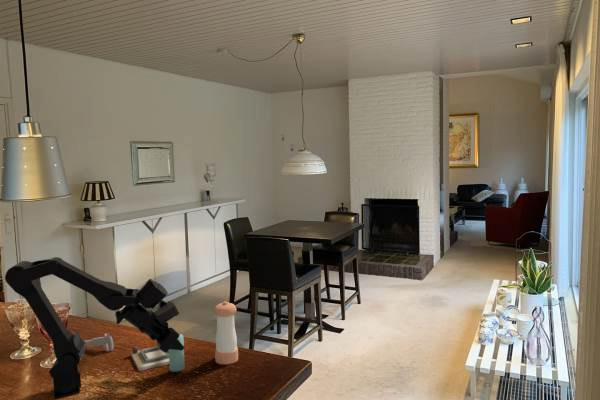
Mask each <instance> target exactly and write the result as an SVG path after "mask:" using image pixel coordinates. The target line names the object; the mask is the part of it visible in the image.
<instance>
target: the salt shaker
mask: <svg viewBox="0 0 600 400" xmlns="http://www.w3.org/2000/svg"><path fill="white" fill-rule="evenodd" d="M213 312H214V314H215V316H216V333H215V334H216V335H215V346H216V348H215V350H214V354H215V355H214V356H215V358H214V359H215V360H214V361H215V363H217V364H219V365H231V364H234V363H236V362H238V360H239V349H238V348H239V347H238V344H237V343H238V342H237V339H238V337H237V332H236V328H235V314H236V313H237V306H235V304H234V303H231V302H228V301H227V300H226V301H225V300H223V302H221V303H218V304H217V305H216V306H215V307H214V310H213Z"/></svg>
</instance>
